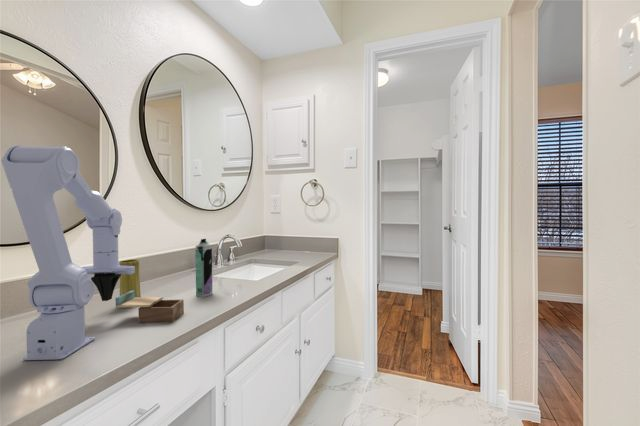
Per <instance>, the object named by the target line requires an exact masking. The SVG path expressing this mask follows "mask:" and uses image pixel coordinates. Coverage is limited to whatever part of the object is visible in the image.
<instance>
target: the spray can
mask: <svg viewBox="0 0 640 426" xmlns="http://www.w3.org/2000/svg"><path fill="white" fill-rule="evenodd" d="M194 249H195V250H194V251H195V254H194V255H195V256H194V257H195V296H196V297H199V298H200V297H203V298H204V297H210V296H212V295H213V247H212V244H210V243H209V242H208V240H207V238H202V239H201V238H200V241H199V243H198V244H196V245H195V248H194Z"/></svg>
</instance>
